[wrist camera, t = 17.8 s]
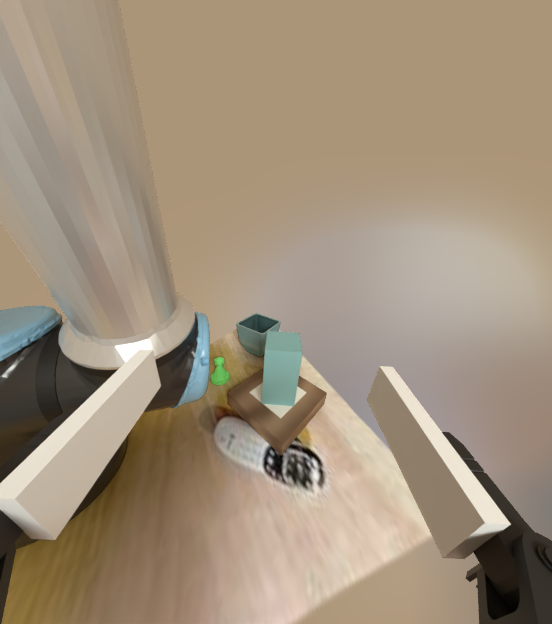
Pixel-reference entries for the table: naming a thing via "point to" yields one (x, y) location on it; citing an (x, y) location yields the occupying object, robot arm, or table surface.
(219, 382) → the game piece
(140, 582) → the table surface
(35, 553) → the table surface
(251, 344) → the flower pot
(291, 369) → the teal pillar block
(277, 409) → the walnut base
